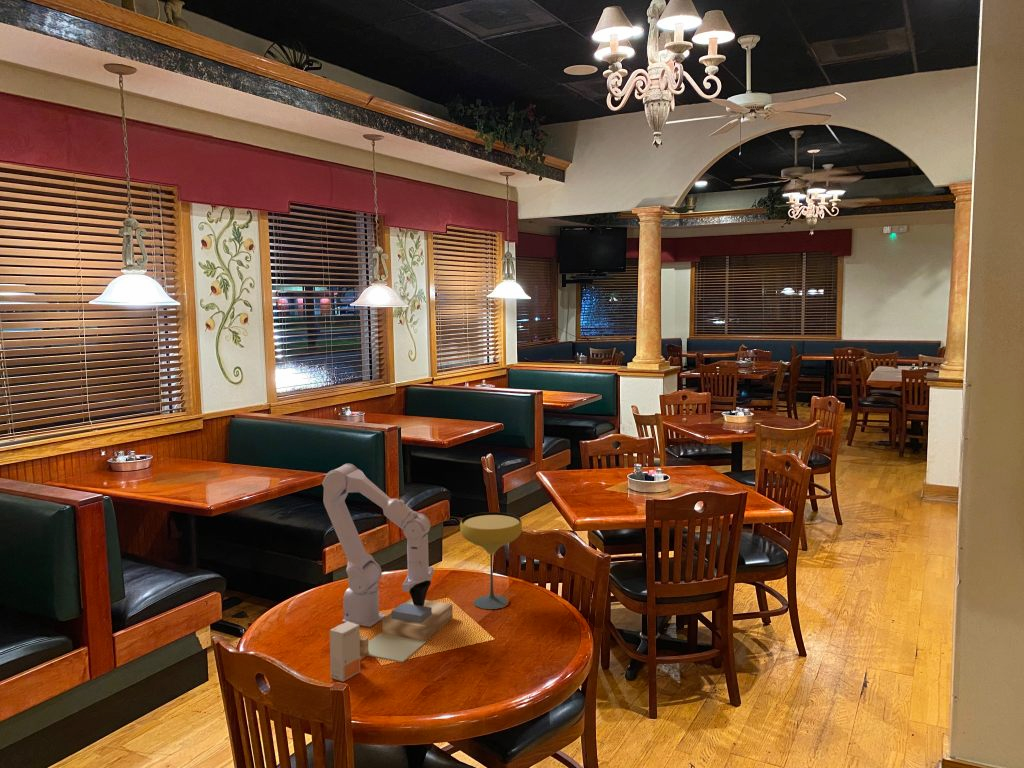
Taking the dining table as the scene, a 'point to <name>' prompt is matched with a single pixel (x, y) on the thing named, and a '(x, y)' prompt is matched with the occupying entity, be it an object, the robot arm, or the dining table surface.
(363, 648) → the oak rack
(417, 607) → the blue-grey rectangular block
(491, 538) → the cocktail glass
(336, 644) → the skincare box
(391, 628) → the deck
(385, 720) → the dining table surface
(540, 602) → the dining table surface
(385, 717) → the dining table surface
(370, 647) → the mat
